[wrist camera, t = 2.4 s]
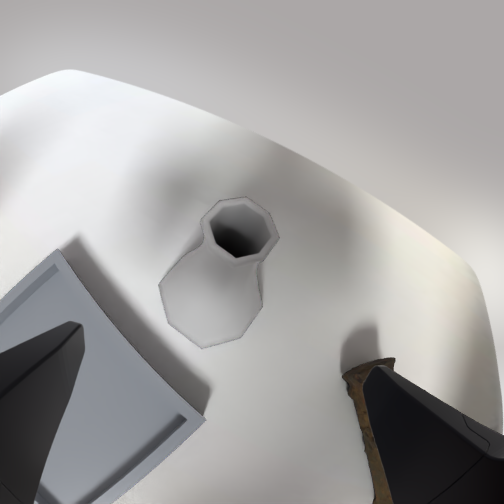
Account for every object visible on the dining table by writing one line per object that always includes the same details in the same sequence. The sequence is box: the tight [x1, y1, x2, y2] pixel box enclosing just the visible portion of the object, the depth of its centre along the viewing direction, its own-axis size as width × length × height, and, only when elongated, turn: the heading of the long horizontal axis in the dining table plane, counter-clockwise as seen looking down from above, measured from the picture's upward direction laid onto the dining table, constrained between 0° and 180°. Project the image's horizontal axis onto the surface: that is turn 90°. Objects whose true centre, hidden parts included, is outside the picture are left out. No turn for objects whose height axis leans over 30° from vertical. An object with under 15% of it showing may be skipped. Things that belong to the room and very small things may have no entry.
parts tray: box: [0, 249, 206, 504], centre depth 13 cm, size 15×15×2 cm
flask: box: [158, 197, 280, 349], centre depth 16 cm, size 7×7×10 cm
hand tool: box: [342, 358, 395, 504], centre depth 16 cm, size 19×4×5 cm, turn 11°
